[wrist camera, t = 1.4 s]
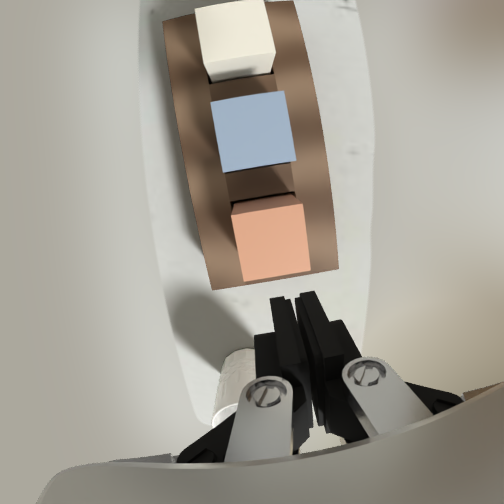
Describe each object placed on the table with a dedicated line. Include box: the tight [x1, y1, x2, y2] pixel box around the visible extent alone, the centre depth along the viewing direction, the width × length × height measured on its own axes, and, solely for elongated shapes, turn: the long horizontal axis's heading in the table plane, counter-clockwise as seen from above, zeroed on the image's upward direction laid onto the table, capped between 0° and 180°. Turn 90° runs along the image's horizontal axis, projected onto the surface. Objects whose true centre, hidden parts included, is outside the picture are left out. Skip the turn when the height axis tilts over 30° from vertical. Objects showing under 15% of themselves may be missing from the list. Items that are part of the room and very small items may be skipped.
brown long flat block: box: [162, 1, 339, 290], centre depth 26 cm, size 26×12×5 cm, turn 10°
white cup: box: [211, 348, 256, 428], centre depth 32 cm, size 8×8×10 cm
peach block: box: [231, 194, 311, 282], centre depth 24 cm, size 5×5×6 cm
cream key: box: [195, 0, 276, 84], centre depth 19 cm, size 5×5×6 cm
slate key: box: [210, 91, 296, 173], centre depth 22 cm, size 5×5×6 cm
